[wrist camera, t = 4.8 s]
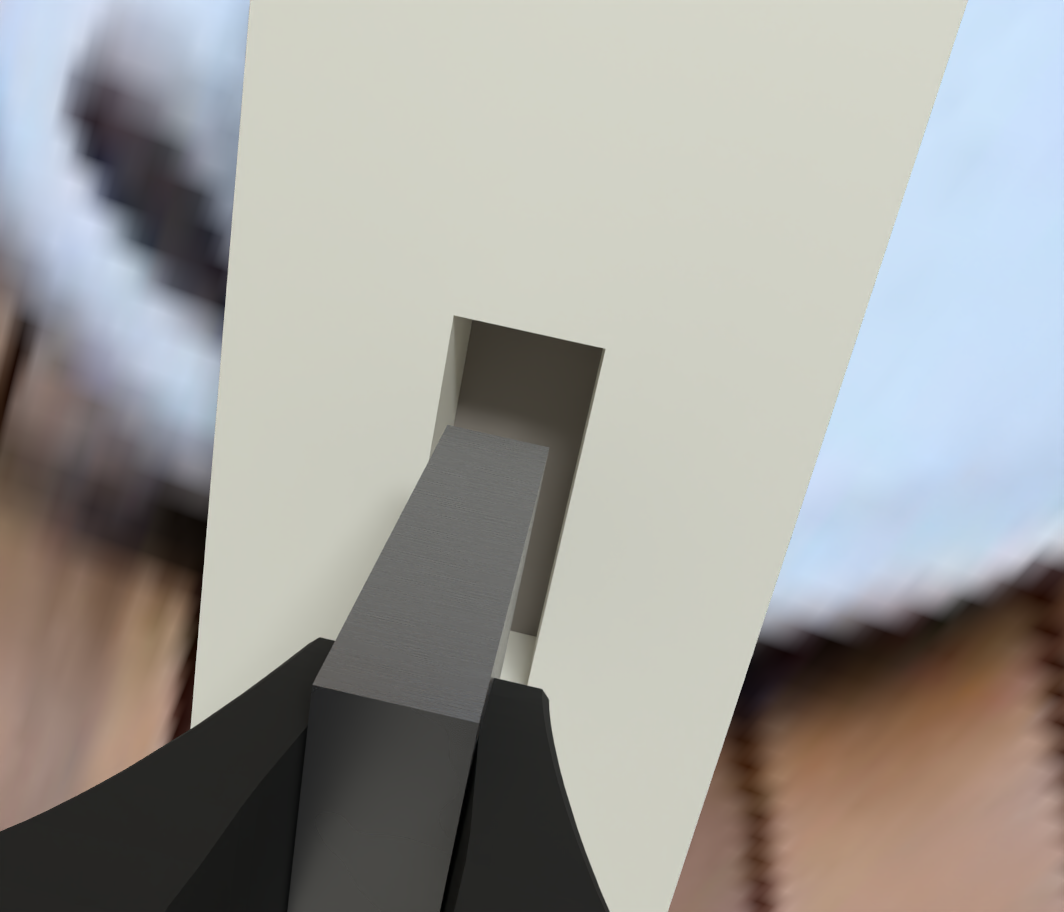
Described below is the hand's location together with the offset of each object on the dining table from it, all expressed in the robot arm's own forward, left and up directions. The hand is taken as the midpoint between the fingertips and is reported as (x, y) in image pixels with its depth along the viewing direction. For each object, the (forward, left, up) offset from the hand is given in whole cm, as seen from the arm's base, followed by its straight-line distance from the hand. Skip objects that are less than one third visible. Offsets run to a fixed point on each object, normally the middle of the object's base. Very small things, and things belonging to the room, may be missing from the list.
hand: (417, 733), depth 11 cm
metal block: (0, 0, -4) cm, 4 cm away
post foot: (0, 0, -9) cm, 9 cm away
